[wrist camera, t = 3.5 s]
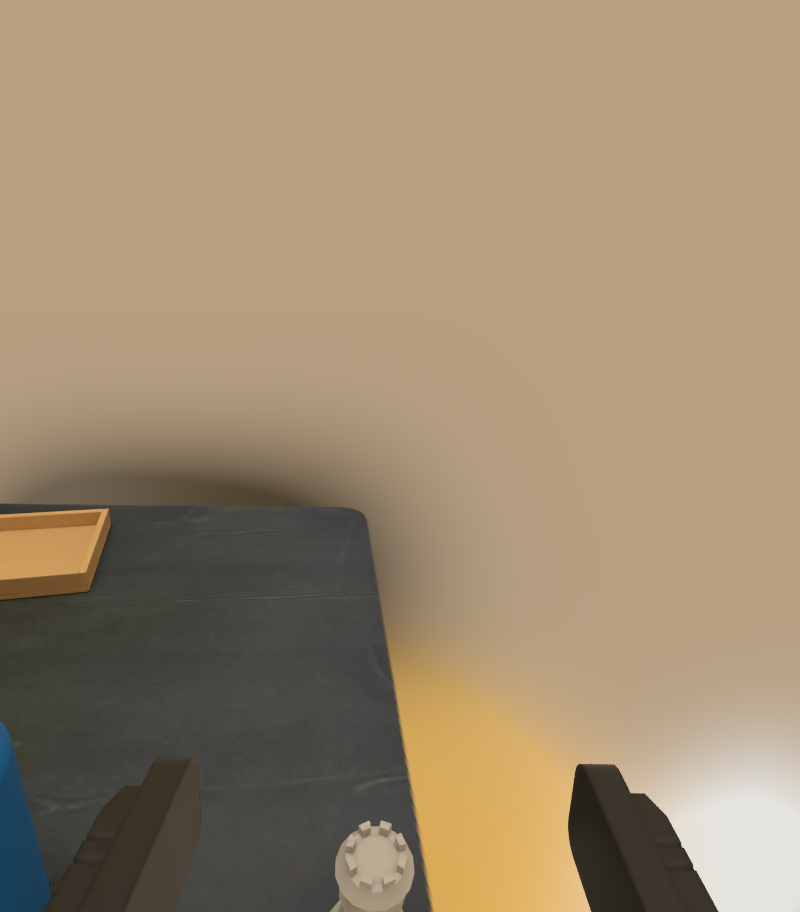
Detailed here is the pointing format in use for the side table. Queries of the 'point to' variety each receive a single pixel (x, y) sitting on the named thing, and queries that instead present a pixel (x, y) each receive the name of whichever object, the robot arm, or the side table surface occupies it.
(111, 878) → the robot arm
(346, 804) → the side table surface
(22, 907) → the beverage can
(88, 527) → the tray
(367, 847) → the rook chess piece
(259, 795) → the side table surface
